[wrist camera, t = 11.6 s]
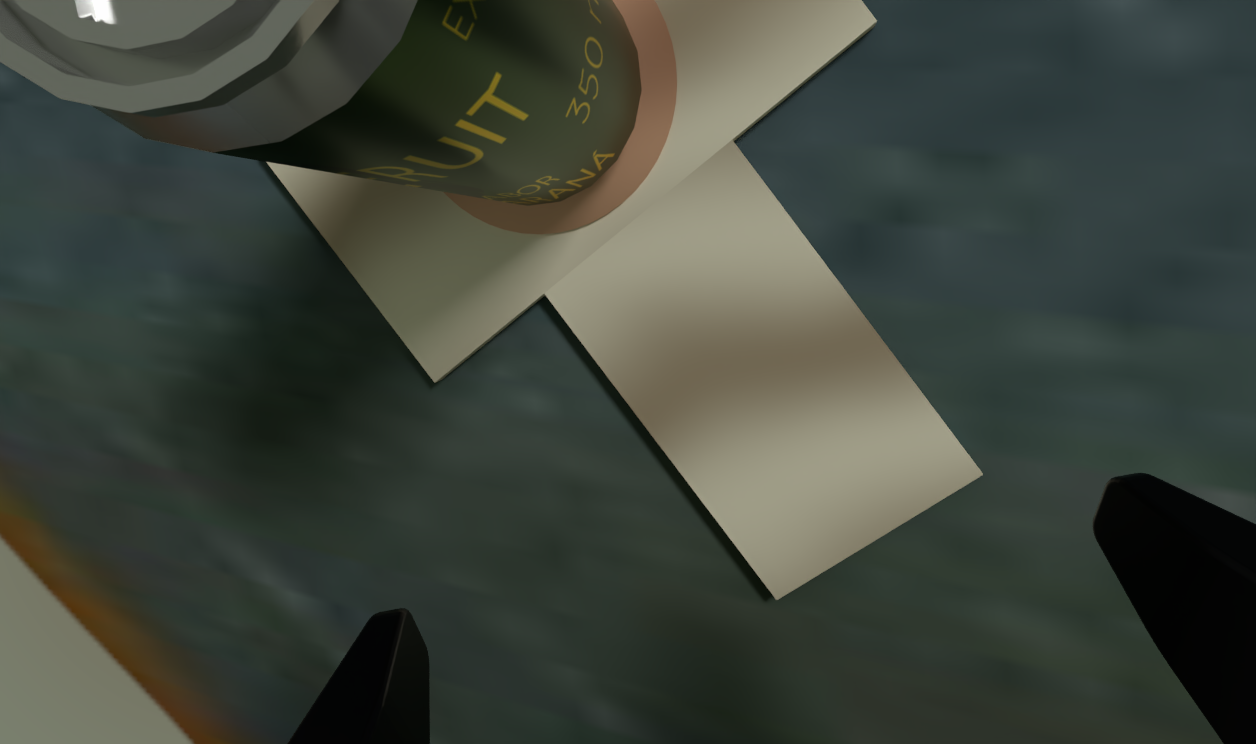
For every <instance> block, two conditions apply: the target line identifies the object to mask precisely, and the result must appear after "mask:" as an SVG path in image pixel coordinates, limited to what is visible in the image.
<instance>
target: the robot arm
mask: <svg viewBox="0 0 1256 744" xmlns="http://www.w3.org/2000/svg"><path fill="white" fill-rule="evenodd" d="M1093 531H1094V535H1095V538H1096V540H1097V542H1098V544H1099V546H1100V547H1101V549H1102V551H1103V553H1104V555H1105V556H1106V558H1107V560H1108V562H1109V563H1110V565H1111V567H1112V569H1113V571H1114V572H1115V574H1116V576H1117V578H1118V580H1119V581H1120V583H1121V585H1122V587H1123V588H1124V590H1125V592H1126V594H1127V596H1128V597H1129V599H1130V601H1131V603H1132V605H1133V606H1134V608H1135V610H1136V612H1137V613H1138V615H1139V617H1140V619H1141V621H1142V622H1143V624H1144V626H1145V628H1146V630H1147V631H1148V633H1149V634H1150V636H1151V638H1152V639H1153V641H1154V643H1155V644H1156V646H1157V648H1158V649H1159V651H1160V652H1161V654H1162V655H1163V657H1164V658H1165V660H1166V661H1167V663H1168V664H1169V666H1170V667H1171V669H1172V670H1173V672H1174V673H1175V674H1176V676H1177V677H1178V679H1179V680H1180V682H1181V683H1182V684H1183V686H1184V687H1185V689H1186V690H1187V692H1188V693H1189V694H1190V696H1191V697H1192V699H1193V700H1194V702H1195V703H1196V705H1197V706H1198V707H1199V709H1200V710H1201V712H1202V713H1203V715H1204V716H1205V717H1206V719H1207V720H1208V722H1209V723H1210V725H1211V726H1212V728H1213V729H1214V730H1215V732H1216V733H1217V735H1218V736H1219V738H1220V739H1221V740H1222V742H1223V743H1224V744H1256V524H1254V523H1252V522H1250V521H1248V520H1246V519H1243V518H1241V517H1239V516H1237V515H1235V514H1233V513H1231V512H1229V511H1226V510H1224V509H1222V508H1220V507H1218V506H1216V505H1214V504H1212V503H1209V502H1207V501H1205V500H1203V499H1201V498H1199V497H1197V496H1195V495H1193V494H1190V493H1188V492H1186V491H1184V490H1182V489H1180V488H1178V487H1176V486H1173V485H1171V484H1169V483H1167V482H1165V481H1163V480H1161V479H1159V478H1156V477H1154V476H1152V475H1149V474H1146V473H1134V474H1129V475H1124V476H1118V477H1114V478H1112V479H1110V480H1109V481H1108V482H1107V484H1106V486H1105V488H1104V491H1103V494H1102V497H1101V499H1100V502H1099V505H1098V507H1097V510H1096V513H1095V516H1094V518H1093ZM288 744H430V710H429V656H428V651H427V647H426V644H425V642H424V640H423V638H422V636H421V634H420V632H419V630H418V628H417V625H416V623H415V621H414V619H413V617H412V615H411V613H410V612H409V611H408V610H407V609H405V608H400V609H394V610H389V611H384V612H379V613H376V614H374V615H373V616H372V617H371V618H370V619H369V620H368V622H367V623H366V625H365V626H364V628H363V629H362V631H361V632H360V634H359V636H358V637H357V639H356V640H355V642H354V643H353V645H352V646H351V648H350V649H349V651H348V652H347V654H346V655H345V657H344V658H343V660H342V661H341V663H340V664H339V666H338V668H337V669H336V671H335V672H334V674H333V675H332V677H331V678H330V680H329V681H328V683H327V684H326V686H325V687H324V689H323V690H322V692H321V693H320V695H319V696H318V698H317V700H316V701H315V703H314V704H313V706H312V707H311V709H310V710H309V712H308V713H307V715H306V716H305V718H304V719H303V721H302V722H301V724H300V725H299V727H298V729H297V730H296V732H295V733H294V735H293V736H292V738H291V739H290V741H289V742H288Z"/></svg>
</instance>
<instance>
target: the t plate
mask: <svg viewBox="0 0 1256 744" xmlns="http://www.w3.org/2000/svg"><path fill="white" fill-rule="evenodd" d="M612 1H613V2H614V4H615V5H616V7H617V8H618V10H619V11H620V13H621V14H622V16H623V18H624V20H625V23H626V25H627V27H628V30H629V32H630V34H631V37H632V39H633V41H634V44H635V46H636V48H637V51H638V58H639V68H640V78H641V87H642V91H641V96H640V101H639V107H638V112H637V117H636V122H635V127H634V129H633V131H632V133H631V135H630V137H629V139H628V141H627V143H626V145H625V146H624V148H623V150H622V152H621V154H620V156H619V158H618V160H617V161H616V162H615V163H614V164H613V165H612V166H611V167H610V168H609V169H608V170H607V171H606V172H605V173H604V174H603V175H602V176H601V177H600V178H599V179H598V180H597V181H596V182H595V183H594V184H593V185H592V186H591V187H589V188H587V189H585V190H583V191H581V192H579V193H577V194H575V195H573V196H571V197H569V198H567V199H565V200H563V201H561V202H553V203H546V204H538V205H531V206H525V205H519V204H513V203H507V202H501V201H495V200H489V199H483V198H477V197H472V196H466V195H460V194H454V193H448V192H442V191H436V190H430V189H424V188H418V187H413V186H407V185H401V184H395V183H389V182H383V181H377V180H371V179H365V178H359V177H354V176H348V175H342V174H336V173H330V172H324V171H318V170H312V169H306V168H300V167H295V166H289V165H283V164H277V163H271V162H267V164H268V165H269V166H270V168H271V169H272V170H273V172H274V173H275V174H276V176H277V177H278V178H279V179H280V181H281V182H282V183H283V185H284V186H285V187H286V189H287V190H288V191H289V193H290V194H291V195H292V196H293V198H294V199H295V200H296V202H297V203H298V204H299V206H300V207H301V208H302V210H303V211H304V212H305V214H306V215H307V216H308V217H309V219H310V220H311V221H312V223H313V224H314V225H315V227H316V228H317V229H318V231H319V232H320V233H321V235H322V236H323V237H324V238H325V240H326V241H327V242H328V244H329V245H330V246H331V248H332V249H333V250H334V252H335V253H336V254H337V256H338V257H339V258H340V259H341V261H342V262H343V263H344V265H345V266H346V267H347V269H348V270H349V271H350V273H351V274H352V275H353V276H354V278H355V279H356V280H357V282H358V283H359V284H360V286H361V287H362V288H363V290H364V291H365V292H366V294H367V295H368V296H369V297H370V299H371V300H372V301H373V303H374V304H375V305H376V307H377V308H378V309H379V311H380V312H381V313H382V315H383V316H384V317H385V318H386V320H387V321H388V322H389V324H390V325H391V326H392V328H393V329H394V330H395V332H396V333H397V334H398V335H399V337H400V338H401V339H402V341H403V342H404V343H405V345H406V346H407V347H408V349H409V350H410V351H411V353H412V354H413V355H414V356H415V358H416V359H417V360H418V362H419V363H420V364H421V366H422V367H423V368H424V370H425V371H426V372H427V374H428V375H429V376H430V377H431V379H432V380H433V381H434V383H435V382H438V381H441V380H442V379H443V378H444V377H446V376H447V375H448V374H449V373H451V372H452V371H453V370H454V369H456V368H457V367H458V366H459V365H460V364H462V363H463V362H464V361H465V360H467V359H468V358H469V357H470V356H471V355H473V354H474V353H475V352H476V351H478V350H479V349H480V348H481V347H482V346H484V345H485V344H486V343H487V342H489V341H490V340H491V339H492V338H494V337H495V336H496V335H497V334H498V333H500V332H501V331H502V330H503V329H505V328H506V327H507V326H508V325H509V324H511V323H512V322H513V321H514V320H516V319H517V318H518V317H519V316H520V315H522V314H523V313H524V312H525V311H527V310H528V309H529V308H530V307H531V306H533V305H534V304H535V303H536V302H538V301H539V300H540V299H541V298H543V297H544V296H545V295H546V297H547V298H548V299H549V301H550V302H551V303H552V305H553V306H554V307H555V309H556V310H557V311H558V313H559V314H560V315H561V317H562V318H563V319H564V320H565V322H566V323H567V324H568V326H569V327H570V328H571V330H572V331H573V332H574V334H575V335H576V336H577V338H578V339H579V340H580V342H581V343H582V344H583V346H584V347H585V348H586V349H587V351H588V352H589V353H590V355H591V356H592V357H593V359H594V360H595V361H596V363H597V364H598V365H599V367H600V368H601V369H602V371H603V372H604V373H605V375H606V376H607V377H608V379H609V380H610V381H611V382H612V384H613V385H614V386H615V388H616V389H617V390H618V392H619V393H620V394H621V396H622V397H623V398H624V400H625V401H626V402H627V404H628V405H629V406H630V408H631V409H632V410H633V411H634V413H635V414H636V415H637V417H638V418H639V419H640V421H641V422H642V423H643V425H644V426H645V427H646V429H647V430H648V431H649V433H650V434H651V435H652V437H653V438H654V439H655V441H656V442H657V443H658V444H659V446H660V447H661V448H662V450H663V451H664V452H665V454H666V455H667V456H668V458H669V459H670V460H671V462H672V463H673V464H674V466H675V467H676V468H677V470H678V471H679V472H680V473H681V475H682V476H683V477H684V479H685V480H686V481H687V483H688V484H689V485H690V487H691V488H692V489H693V491H694V492H695V493H696V495H697V496H698V497H699V499H700V500H701V501H702V503H703V504H704V505H705V506H706V508H707V509H708V510H709V512H710V513H711V514H712V516H713V517H714V518H715V520H716V521H717V522H718V524H719V525H720V526H721V528H722V529H723V530H724V532H725V533H726V534H727V535H728V537H729V538H730V539H731V541H732V542H733V543H734V545H735V546H736V547H737V549H738V550H739V551H740V553H741V554H742V555H743V557H744V558H745V559H746V561H747V562H748V563H749V565H750V566H751V567H752V568H753V570H754V571H755V572H756V574H757V575H758V576H759V578H760V579H761V580H762V582H763V583H764V584H765V586H766V587H767V588H768V590H769V591H770V592H771V594H772V595H773V596H774V597H775V599H776V600H778V599H780V598H781V597H783V596H784V595H786V594H788V593H789V592H791V591H793V590H794V589H796V588H798V587H799V586H801V585H803V584H804V583H806V582H808V581H809V580H811V579H812V578H814V577H816V576H817V575H819V574H821V573H822V572H824V571H826V570H827V569H829V568H831V567H832V566H834V565H835V564H837V563H839V562H840V561H842V560H844V559H845V558H847V557H849V556H850V555H852V554H854V553H855V552H857V551H858V550H860V549H862V548H863V547H865V546H867V545H868V544H870V543H872V542H873V541H875V540H877V539H878V538H880V537H882V536H883V535H885V534H886V533H888V532H890V531H891V530H893V529H895V528H896V527H898V526H900V525H901V524H903V523H905V522H906V521H908V520H909V519H911V518H913V517H914V516H916V515H918V514H919V513H921V512H923V511H924V510H926V509H928V508H929V507H931V506H932V505H934V504H936V503H937V502H939V501H941V500H942V499H944V498H946V497H947V496H949V495H951V494H952V493H954V492H956V491H957V490H959V489H960V488H962V487H964V486H965V485H967V484H969V483H970V482H972V481H974V480H975V479H977V478H979V477H980V476H982V475H983V473H982V472H981V471H980V469H979V468H978V467H977V465H976V464H975V463H974V461H973V460H972V459H971V457H970V456H969V455H968V453H967V452H966V451H965V449H964V448H963V447H962V445H961V444H960V443H959V441H958V440H957V439H956V437H955V436H954V435H953V433H952V432H951V431H950V429H949V428H948V427H947V425H946V424H945V423H944V421H943V420H942V419H941V417H940V416H939V415H938V413H937V412H936V411H935V409H934V408H933V407H932V405H931V404H930V403H929V401H928V400H927V399H926V397H925V396H924V395H923V393H922V392H921V391H920V389H919V388H918V387H917V385H916V384H915V383H914V381H913V380H912V379H911V377H910V376H909V375H908V373H907V372H906V371H905V369H904V368H903V367H902V365H901V364H900V363H899V361H898V360H897V359H896V357H895V356H894V355H893V353H892V352H891V351H890V349H889V348H888V347H887V345H886V344H885V343H884V341H883V340H882V339H881V337H880V336H879V335H878V333H877V332H876V331H875V329H874V328H873V327H872V325H871V324H870V323H869V321H868V320H867V319H866V317H865V316H864V315H863V313H862V312H861V311H860V309H859V308H858V307H857V305H856V304H855V303H854V301H853V300H852V299H851V297H850V296H849V295H848V293H847V292H846V291H845V289H844V288H843V287H842V285H841V284H840V283H839V281H838V280H837V279H836V277H835V276H834V275H833V273H832V272H831V271H830V269H829V268H828V267H827V265H826V264H825V263H824V261H823V260H822V259H821V257H820V256H819V255H818V253H817V252H816V251H815V249H814V248H813V247H812V245H811V244H810V243H809V241H808V240H807V239H806V237H805V236H804V235H803V233H802V232H801V231H800V229H799V228H798V227H797V225H796V224H795V223H794V221H793V220H792V219H791V217H790V216H789V215H788V213H787V212H786V211H785V209H784V208H783V207H782V205H781V204H780V203H779V202H778V200H777V199H776V198H775V196H774V195H773V194H772V192H771V191H770V190H769V188H768V187H767V186H766V184H765V183H764V182H763V180H762V179H761V178H760V176H759V175H758V174H757V172H756V171H755V170H754V168H753V167H752V166H751V164H750V163H749V162H748V160H747V159H746V158H745V156H744V155H743V154H742V152H741V151H740V150H739V148H738V147H737V146H736V144H735V143H734V141H735V140H736V139H737V138H739V137H740V136H741V135H742V134H743V133H745V132H746V131H747V130H748V129H750V128H751V127H752V126H753V125H754V124H756V123H757V122H758V121H759V120H761V119H762V118H763V117H764V116H765V115H767V114H768V113H769V112H770V111H772V110H773V109H774V108H775V107H777V106H778V105H779V104H780V103H781V102H783V101H784V100H785V99H786V98H788V97H789V96H790V95H791V94H792V93H794V92H795V91H796V90H797V89H799V88H800V87H801V86H802V85H803V84H805V83H806V82H807V81H808V80H810V79H811V78H812V77H813V76H815V75H816V74H817V73H818V72H819V71H821V70H822V69H823V68H824V67H826V66H827V65H828V64H829V63H830V62H832V61H833V60H834V59H835V58H837V57H838V56H839V55H840V54H841V53H843V52H844V51H845V50H846V49H848V48H849V47H850V46H851V45H852V44H854V43H855V42H856V41H857V40H859V39H860V38H861V37H862V36H864V35H865V34H866V33H867V32H868V31H870V30H871V29H872V28H873V27H875V24H876V22H877V21H876V19H875V18H874V16H873V15H872V14H871V12H870V11H869V10H868V8H867V7H866V6H865V4H864V3H863V2H862V0H612Z"/></svg>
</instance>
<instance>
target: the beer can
mask: <svg viewBox="0 0 1256 744" xmlns="http://www.w3.org/2000/svg"><path fill="white" fill-rule="evenodd" d="M0 62H1V63H3V64H4V65H6V66H8V67H9V68H11V69H13V70H14V71H16V72H18V73H19V74H21V75H22V76H24V77H26V78H27V79H29V80H31V81H32V82H34V83H35V84H37V85H39V86H40V87H42V88H44V89H45V90H47V91H49V92H50V93H52V94H53V95H55V96H57V97H58V98H60V99H64V100H69V101H74V102H78V103H83V104H88V105H91V106H93V107H94V108H96V109H98V110H99V111H101V112H103V113H104V114H106V115H107V116H109V117H111V118H112V119H114V120H116V121H117V122H119V123H120V124H122V125H124V126H125V127H127V128H129V129H130V130H132V131H134V132H135V133H137V134H138V135H140V136H142V137H143V138H145V139H150V140H155V141H160V142H164V143H169V144H174V145H179V146H184V147H188V148H193V149H198V150H203V151H207V152H212V153H218V154H224V155H230V156H236V157H241V158H247V159H253V160H259V161H265V162H271V163H277V164H283V165H289V166H295V167H300V168H306V169H312V170H318V171H324V172H330V173H336V174H342V175H348V176H354V177H359V178H365V179H371V180H377V181H383V182H389V183H395V184H401V185H407V186H413V187H418V188H424V189H430V190H436V191H442V192H448V193H454V194H460V195H466V196H472V197H477V198H483V199H489V200H495V201H501V202H507V203H513V204H519V205H525V206H531V205H538V204H546V203H553V202H561V201H563V200H565V199H567V198H569V197H571V196H573V195H575V194H577V193H579V192H581V191H583V190H585V189H587V188H589V187H591V186H592V185H593V184H594V183H595V182H596V181H597V180H598V179H599V178H600V177H601V176H602V175H603V174H604V173H605V172H606V171H607V170H608V169H609V168H610V167H611V166H612V165H613V164H614V163H615V162H616V161H617V160H618V158H619V156H620V154H621V152H622V150H623V148H624V146H625V145H626V143H627V141H628V139H629V137H630V135H631V133H632V131H633V129H634V127H635V122H636V117H637V112H638V107H639V101H640V96H641V91H642V87H641V78H640V68H639V58H638V51H637V48H636V46H635V44H634V41H633V39H632V37H631V34H630V32H629V30H628V27H627V25H626V23H625V20H624V18H623V16H622V14H621V13H620V11H619V10H618V8H617V7H616V5H615V4H614V2H613V1H612V0H0Z"/></svg>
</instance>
